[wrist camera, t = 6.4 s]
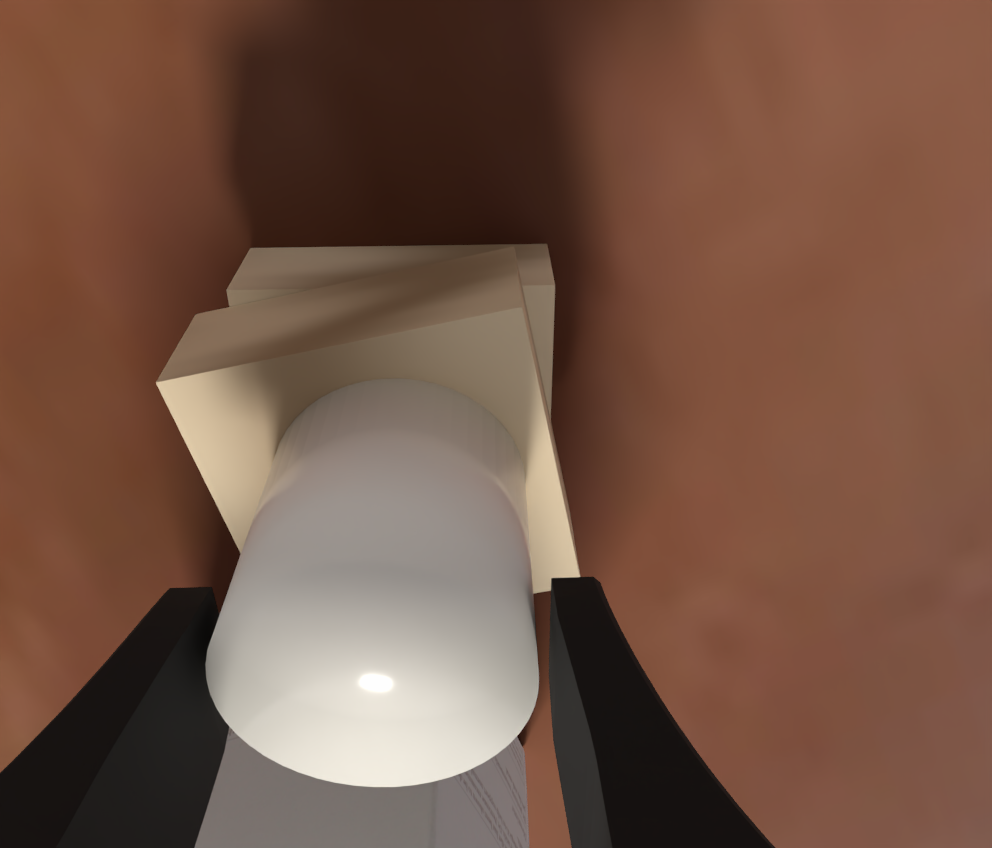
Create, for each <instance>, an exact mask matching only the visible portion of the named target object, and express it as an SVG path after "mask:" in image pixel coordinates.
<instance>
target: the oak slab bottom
mask: <svg viewBox="0 0 992 848" xmlns="http://www.w3.org/2000/svg"><path fill="white" fill-rule="evenodd" d="M513 246H514V249H515V254H516V258H517V263H518V268H519V273H520V277H521V282H522V287H523V292H524V296H525V301H526V306H527V311H528V315H529V320H530V325H531V330H532V334H533V339H534V344H535V348H536V353H537V358H538V363H539V367H540V372H541V377H542V382H543V386H544V391H545V396H546V400H547V405H548V410H549V415H550V419H551V396H552V366H553V336H554V306H555V282H554V277H553V271H552V266H551V261H550V256H549V251H548V246H547V244H497V245H426V246H355V247H283V248H250V250H249V251H248V253H247V255H246V257H245V258H244V260H243V262H242V264H241V265H240V267H239V269H238V271H237V272H236V274H235V276H234V277H233V279H232V281H231V283H230V284H229V286H228V288H227V290H226V291H227V297H228V302H229V307H232V306H237V305H241V304H246V303H251V302H255V301H260V300H265V299H269V298H274V297H279V296H284V295H288V294H293V293H298V292H302V291H307V290H312V289H316V288H321V287H326V286H330V285H335V284H340V283H345V282H349V281H354V280H359V279H363V278H368V277H373V276H377V275H382V274H387V273H391V272H396V271H401V270H406V269H410V268H415V267H420V266H424V265H429V264H434V263H438V262H443V261H448V260H452V259H457V258H462V257H467V256H471V255H476V254H481V253H485V252H490V251H495V250H499V249H504V248H509V247H513Z"/></svg>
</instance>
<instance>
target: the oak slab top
mask: <svg viewBox="0 0 992 848" xmlns="http://www.w3.org/2000/svg"><path fill="white" fill-rule="evenodd" d="M390 378H403V379H413V380H421V381H425V382H430V383H435V384H438V385H441V386H444V387H447V388H450V389H453V390H455V391H457V392H459V393H461V394H464V395H466V396H468V397H469V398H471V399H473V400H474V401H476V402H477V403H479V404H480V405H482V406H483V407H485V408H486V409H487V410H488V411H489V412H491V413H492V414H493V415H494V416H495V417H496V418H497V419H498V420H499V421H500V422H501V423H502V425H503V426H504V427H505V428H506V429H507V431H508V432H509V434H510V435H511V437H512V438H513V440H514V442H515V444H516V446H517V448H518V450H519V452H520V456H521V459H522V462H523V466H524V473H525V483H526V497H527V512H528V526H529V540H530V555H531V569H532V584H533V594H534V593H539V592H545V591H550V590H551V578H570V577H580V571H579V565H578V559H577V553H576V547H575V541H574V534H573V528H572V522H571V516H570V510H569V504H568V499H567V495H566V490H565V485H564V480H563V476H562V471H561V466H560V462H559V457H558V452H557V447H556V443H555V438H554V433H553V428H552V424H551V419H550V415H549V410H548V405H547V400H546V396H545V391H544V386H543V382H542V377H541V372H540V367H539V363H538V358H537V353H536V348H535V344H534V339H533V334H532V330H531V325H530V320H529V315H528V311H527V306H526V301H525V296H524V292H523V287H522V282H521V277H520V273H519V268H518V263H517V258H516V254H515V249H514V246H513V247H509V248H504V249H499V250H495V251H490V252H485V253H481V254H476V255H471V256H467V257H462V258H457V259H452V260H448V261H443V262H438V263H434V264H429V265H424V266H420V267H415V268H410V269H406V270H401V271H396V272H391V273H387V274H382V275H377V276H373V277H368V278H363V279H359V280H354V281H349V282H345V283H340V284H335V285H330V286H326V287H321V288H316V289H312V290H307V291H302V292H298V293H293V294H288V295H284V296H279V297H274V298H269V299H265V300H260V301H255V302H251V303H246V304H241V305H237V306H232V307H227V308H223V309H218V310H213V311H209V312H204V313H199V314H196V315H195V316H194V318H193V320H192V321H191V323H190V325H189V327H188V328H187V330H186V332H185V333H184V335H183V337H182V339H181V340H180V342H179V344H178V345H177V347H176V349H175V351H174V352H173V354H172V356H171V357H170V359H169V361H168V362H167V364H166V366H165V368H164V369H163V371H162V373H161V374H160V376H159V378H158V380H157V381H156V384H157V386H158V388H159V390H160V392H161V394H162V396H163V398H164V400H165V402H166V404H167V406H168V408H169V410H170V412H171V414H172V416H173V418H174V420H175V422H176V424H177V426H178V428H179V430H180V432H181V434H182V436H183V439H184V441H185V443H186V445H187V447H188V449H189V451H190V453H191V455H192V457H193V459H194V461H195V463H196V465H197V467H198V469H199V471H200V473H201V475H202V477H203V479H204V481H205V483H206V485H207V487H208V489H209V491H210V493H211V495H212V497H213V499H214V501H215V503H216V505H217V507H218V509H219V511H220V513H221V515H222V517H223V519H224V521H225V523H226V525H227V527H228V529H229V531H230V533H231V535H232V537H233V539H234V541H235V543H236V545H237V547H238V549H239V551H240V553H241V552H242V549H243V546H244V543H245V540H246V538H247V535H248V532H249V529H250V526H251V523H252V520H253V517H254V515H255V512H256V509H257V506H258V503H259V500H260V497H261V495H262V492H263V489H264V486H265V483H266V480H267V477H268V475H269V472H270V469H271V466H272V463H273V460H274V457H275V454H276V452H277V449H278V446H279V443H280V441H281V439H282V437H283V435H284V434H285V432H286V430H287V429H288V427H289V426H290V425H291V423H292V422H293V421H294V420H295V418H296V417H297V416H298V415H299V414H301V413H302V412H303V411H304V410H305V409H306V408H307V407H308V406H310V405H311V404H312V403H314V402H315V401H317V400H318V399H320V398H321V397H323V396H325V395H327V394H329V393H331V392H333V391H335V390H337V389H340V388H343V387H345V386H348V385H351V384H355V383H359V382H363V381H369V380H376V379H390Z"/></svg>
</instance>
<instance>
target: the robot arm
mask: <svg viewBox="0 0 992 848" xmlns="http://www.w3.org/2000/svg"><path fill="white" fill-rule="evenodd" d="M218 618H219V613H218V609H217V605H216V601H215V598H214V594H213V590H212V587H198V588H170V589H169V590H168V591H167V592H166V593H165V594H164V595H163V596H162V597H161V598H160V599H159V600H158V601H157V603H156V604H155V605H154V606H153V607H152V608H151V610H150V611H149V612H148V613H147V614H146V615H145V617H144V618H143V619H142V620H141V621H140V623H139V624H138V625H137V626H136V627H135V628H134V630H133V631H132V632H131V633H130V634H129V636H128V637H127V638H126V639H125V640H124V641H123V643H122V644H121V645H120V646H119V647H118V648H117V649H116V651H115V652H114V653H113V654H112V655H111V656H110V658H109V659H108V660H107V661H106V662H105V663H104V665H103V666H102V667H101V668H100V669H99V670H98V671H97V672H96V673H95V675H94V676H93V677H92V678H91V679H90V680H89V681H88V682H87V683H86V685H85V686H84V687H83V688H82V689H81V690H80V691H79V692H78V693H77V695H76V696H75V697H74V698H73V699H72V700H71V701H70V702H69V703H68V704H67V706H66V707H65V708H64V709H63V710H62V711H61V712H60V713H59V714H58V715H57V716H56V717H55V718H54V719H53V720H52V721H51V722H50V723H49V724H48V725H47V726H46V727H45V729H44V730H43V731H42V732H41V733H40V734H39V735H38V736H37V737H36V738H35V739H34V740H33V741H32V742H31V743H30V744H29V745H28V746H27V747H26V748H25V749H24V750H23V751H22V752H21V753H20V754H19V755H18V756H17V757H16V758H15V759H14V760H13V761H12V762H11V763H10V764H9V765H8V766H7V767H6V768H5V769H4V770H3V771H2V772H1V773H0V848H195V844H196V841H197V838H198V835H199V832H200V829H201V825H202V822H203V819H204V816H205V813H206V810H207V806H208V803H209V800H210V797H211V794H212V790H213V787H214V784H215V781H216V777H217V774H218V771H219V768H220V764H221V761H222V758H223V754H224V751H225V746H226V741H227V736H228V731H229V725H228V724H227V723H226V722H225V720H224V719H223V717H222V716H221V714H220V713H219V711H218V710H217V708H216V706H215V704H214V702H213V700H212V697H211V695H210V692H209V688H208V684H207V680H206V666H205V664H206V656H207V649H208V647H209V644H210V641H211V638H212V635H213V632H214V629H215V626H216V623H217V621H218ZM549 684H550V699H551V713H552V727H553V741H554V747H555V753H556V759H557V764H558V770H559V776H560V782H561V788H562V794H563V799H564V805H565V811H566V817H567V822H568V828H569V834H570V840H571V845H572V848H775V847H774V846H773V845H772V844H771V843H770V842H769V841H768V839H767V838H766V837H765V836H764V835H763V834H762V833H761V831H760V830H759V829H758V828H757V827H756V826H755V824H754V823H753V822H752V821H751V820H750V818H749V817H748V816H747V815H746V814H745V813H744V811H743V810H742V809H741V808H740V807H739V806H738V804H737V803H736V802H735V801H734V799H733V798H732V797H731V796H730V794H729V793H728V792H727V791H726V789H725V788H724V787H723V786H722V784H721V783H720V782H719V781H718V779H717V778H716V777H715V776H714V774H713V773H712V772H711V770H710V769H709V768H708V766H707V765H706V764H705V762H704V761H703V760H702V758H701V757H700V755H699V754H698V753H697V751H696V750H695V749H694V747H693V746H692V744H691V743H690V741H689V740H688V739H687V737H686V736H685V734H684V733H683V731H682V730H681V729H680V727H679V726H678V724H677V723H676V721H675V720H674V718H673V717H672V715H671V714H670V712H669V711H668V709H667V708H666V706H665V705H664V703H663V701H662V700H661V698H660V697H659V695H658V693H657V692H656V690H655V688H654V687H653V685H652V683H651V682H650V680H649V679H648V677H647V675H646V674H645V672H644V670H643V669H642V667H641V665H640V664H639V662H638V660H637V658H636V657H635V655H634V653H633V651H632V649H631V648H630V646H629V644H628V642H627V640H626V638H625V636H624V634H623V632H622V631H621V629H620V627H619V625H618V623H617V621H616V619H615V617H614V614H613V612H612V610H611V608H610V606H609V603H608V601H607V599H606V596H605V594H604V592H603V589H602V586H601V583H600V582H599V581H598V580H596V579H595V578H594V577H570V578H551V610H550V648H549Z"/></svg>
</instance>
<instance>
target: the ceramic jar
mask: <svg viewBox="0 0 992 848" xmlns="http://www.w3.org/2000/svg"><path fill="white" fill-rule="evenodd" d="M205 666H206V680H207V684H208V688H209V692H210V695H211V697H212V700H213V702H214V704H215V706H216V708H217V710H218V711H219V713H220V714H221V716H222V717H223V719H224V720H225V722H226V723H227V724H228V725H229V726H230V728H231V729H232V730H233V731H234V732H235V733H236V734H237V735H238V736H239V737H240V738H241V739H243V740H244V741H245V742H246V743H247V744H248V745H249V746H251V747H252V748H254V749H255V750H257V751H258V752H259V753H261V754H262V755H264V756H266V757H267V758H269V759H271V760H273V761H275V762H277V763H278V764H280V765H282V766H285V767H287V768H289V769H292V770H294V771H296V772H299V773H302V774H305V775H308V776H311V777H314V778H317V779H322V780H326V781H330V782H334V783H340V784H347V785H353V786H365V787H400V786H411V785H418V784H424V783H429V782H434V781H438V780H442V779H445V778H449V777H452V776H455V775H458V774H460V773H463V772H466V771H468V770H470V769H472V768H474V767H476V766H478V765H480V764H482V763H484V762H486V761H487V760H489V759H490V758H492V757H494V756H495V755H497V754H498V753H499V752H500V751H502V750H503V749H504V748H505V747H506V746H508V745H509V744H510V743H511V742H512V741H513V740H514V739H515V738H516V736H517V735H518V734H519V733H520V732H521V731H522V729H523V728H524V726H525V725H526V723H527V722H528V720H529V718H530V716H531V714H532V711H533V709H534V707H535V704H536V700H537V695H538V688H539V670H538V655H537V641H536V627H535V612H534V598H533V584H532V569H531V555H530V540H529V526H528V512H527V497H526V483H525V473H524V466H523V462H522V459H521V456H520V452H519V450H518V448H517V446H516V444H515V442H514V440H513V438H512V437H511V435H510V434H509V432H508V431H507V429H506V428H505V427H504V426H503V425H502V423H501V422H500V421H499V420H498V419H497V418H496V417H495V416H494V415H493V414H492V413H491V412H489V411H488V410H487V409H486V408H485V407H483V406H482V405H480V404H479V403H477V402H476V401H474V400H473V399H471V398H469V397H468V396H466V395H464V394H461V393H459V392H457V391H455V390H453V389H450V388H447V387H444V386H441V385H438V384H435V383H430V382H425V381H421V380H413V379H403V378H390V379H376V380H369V381H363V382H359V383H355V384H351V385H348V386H345V387H343V388H340V389H337V390H335V391H333V392H331V393H329V394H327V395H325V396H323V397H321V398H320V399H318V400H317V401H315V402H314V403H312V404H311V405H310V406H308V407H307V408H306V409H305V410H304V411H303V412H302V413H301V414H299V415H298V416H297V417H296V418H295V420H294V421H293V422H292V423H291V425H290V426H289V427H288V429H287V430H286V432H285V434H284V435H283V437H282V439H281V441H280V443H279V446H278V449H277V452H276V454H275V457H274V460H273V463H272V466H271V469H270V472H269V475H268V477H267V480H266V483H265V486H264V489H263V492H262V495H261V497H260V500H259V503H258V506H257V509H256V512H255V515H254V517H253V520H252V523H251V526H250V529H249V532H248V535H247V538H246V540H245V543H244V546H243V549H242V552H241V555H240V558H239V560H238V563H237V566H236V569H235V572H234V575H233V578H232V580H231V583H230V586H229V589H228V592H227V595H226V598H225V600H224V603H223V606H222V609H221V612H220V615H219V618H218V621H217V623H216V626H215V629H214V632H213V635H212V638H211V641H210V644H209V647H208V649H207V656H206V664H205Z"/></svg>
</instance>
